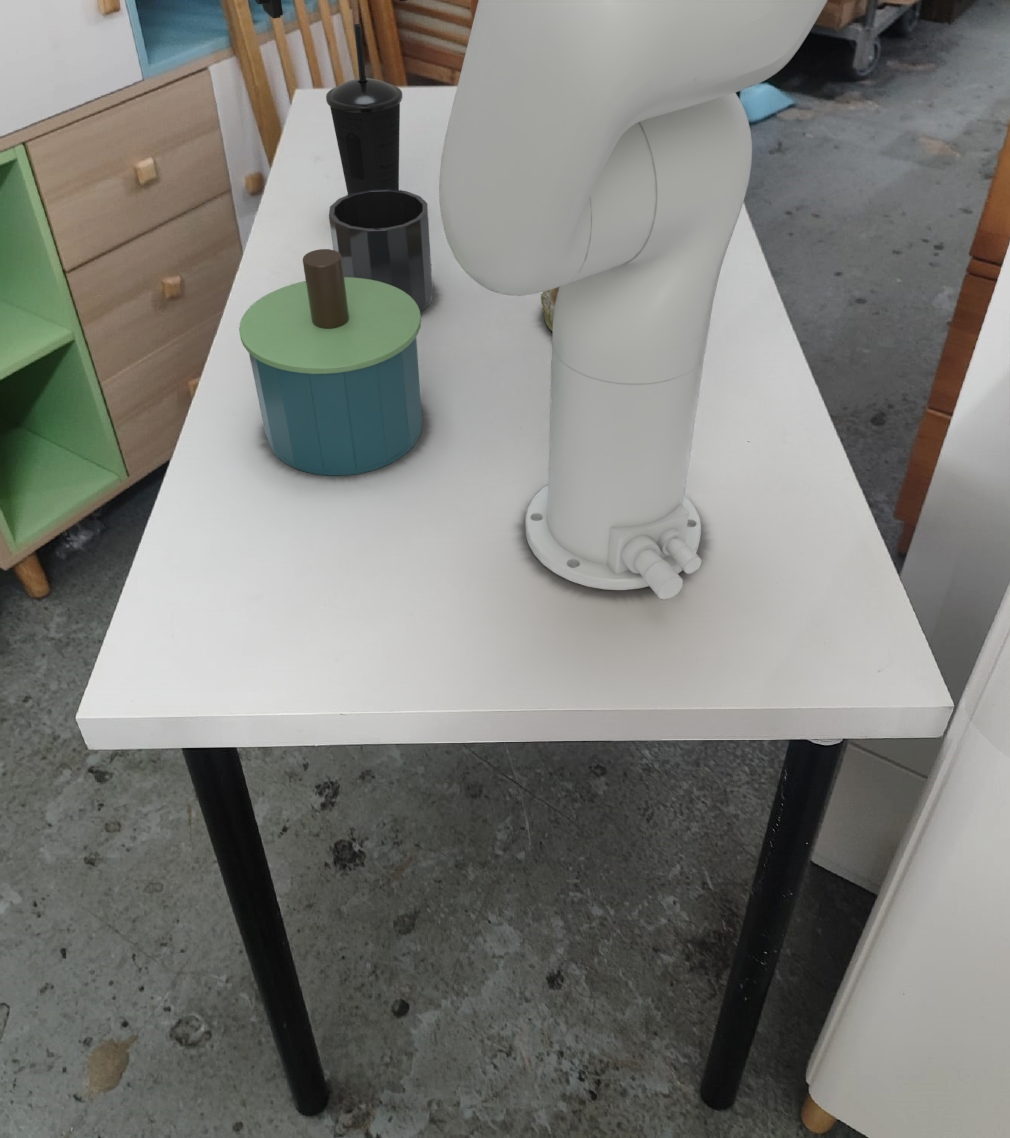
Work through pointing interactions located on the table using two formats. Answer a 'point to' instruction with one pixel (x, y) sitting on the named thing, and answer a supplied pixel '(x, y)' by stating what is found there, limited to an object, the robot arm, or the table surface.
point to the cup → (385, 240)
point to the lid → (329, 321)
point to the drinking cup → (367, 128)
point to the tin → (342, 414)
